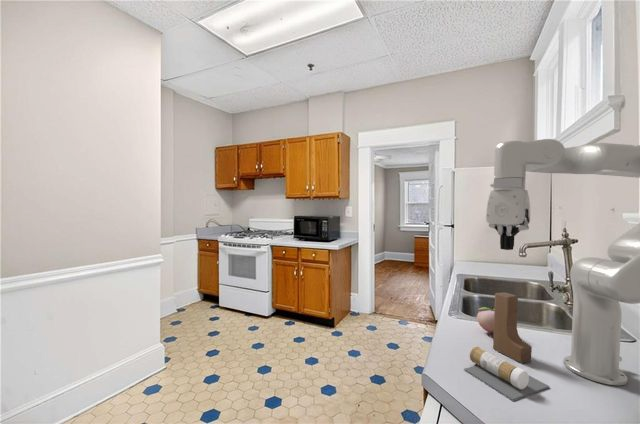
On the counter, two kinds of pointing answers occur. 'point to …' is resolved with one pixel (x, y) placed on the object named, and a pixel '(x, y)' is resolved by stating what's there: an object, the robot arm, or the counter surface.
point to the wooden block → (508, 329)
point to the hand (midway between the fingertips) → (506, 249)
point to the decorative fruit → (486, 319)
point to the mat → (506, 383)
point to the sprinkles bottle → (500, 368)
